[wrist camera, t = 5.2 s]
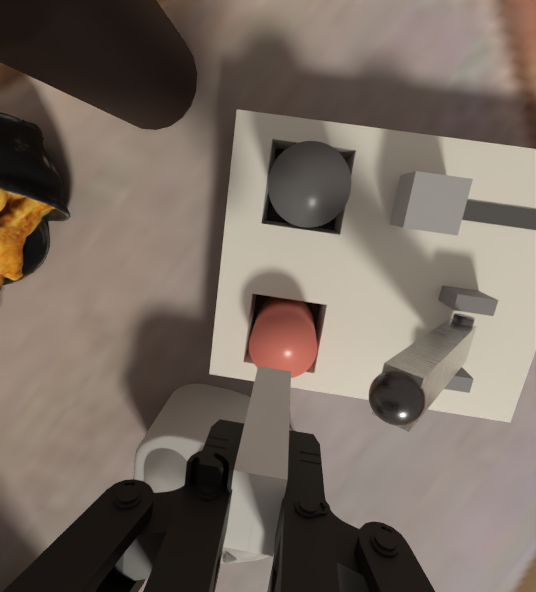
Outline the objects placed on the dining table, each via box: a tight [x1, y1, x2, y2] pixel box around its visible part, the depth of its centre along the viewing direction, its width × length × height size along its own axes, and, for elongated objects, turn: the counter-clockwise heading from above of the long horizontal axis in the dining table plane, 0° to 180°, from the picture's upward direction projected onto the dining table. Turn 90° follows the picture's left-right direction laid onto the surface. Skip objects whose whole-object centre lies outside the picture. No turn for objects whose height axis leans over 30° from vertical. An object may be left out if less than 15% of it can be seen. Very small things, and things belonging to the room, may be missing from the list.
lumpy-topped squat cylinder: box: [133, 384, 293, 564], centre depth 29 cm, size 10×13×9 cm
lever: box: [369, 313, 477, 432], centre depth 19 cm, size 2×3×13 cm
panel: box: [209, 109, 536, 422], centre depth 25 cm, size 22×18×6 cm
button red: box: [249, 297, 317, 378], centre depth 26 cm, size 4×4×6 cm
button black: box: [268, 141, 351, 228], centre depth 22 cm, size 4×4×6 cm
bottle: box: [0, 0, 197, 130], centre depth 16 cm, size 7×7×20 cm
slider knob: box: [390, 171, 473, 236], centre depth 21 cm, size 3×3×3 cm
